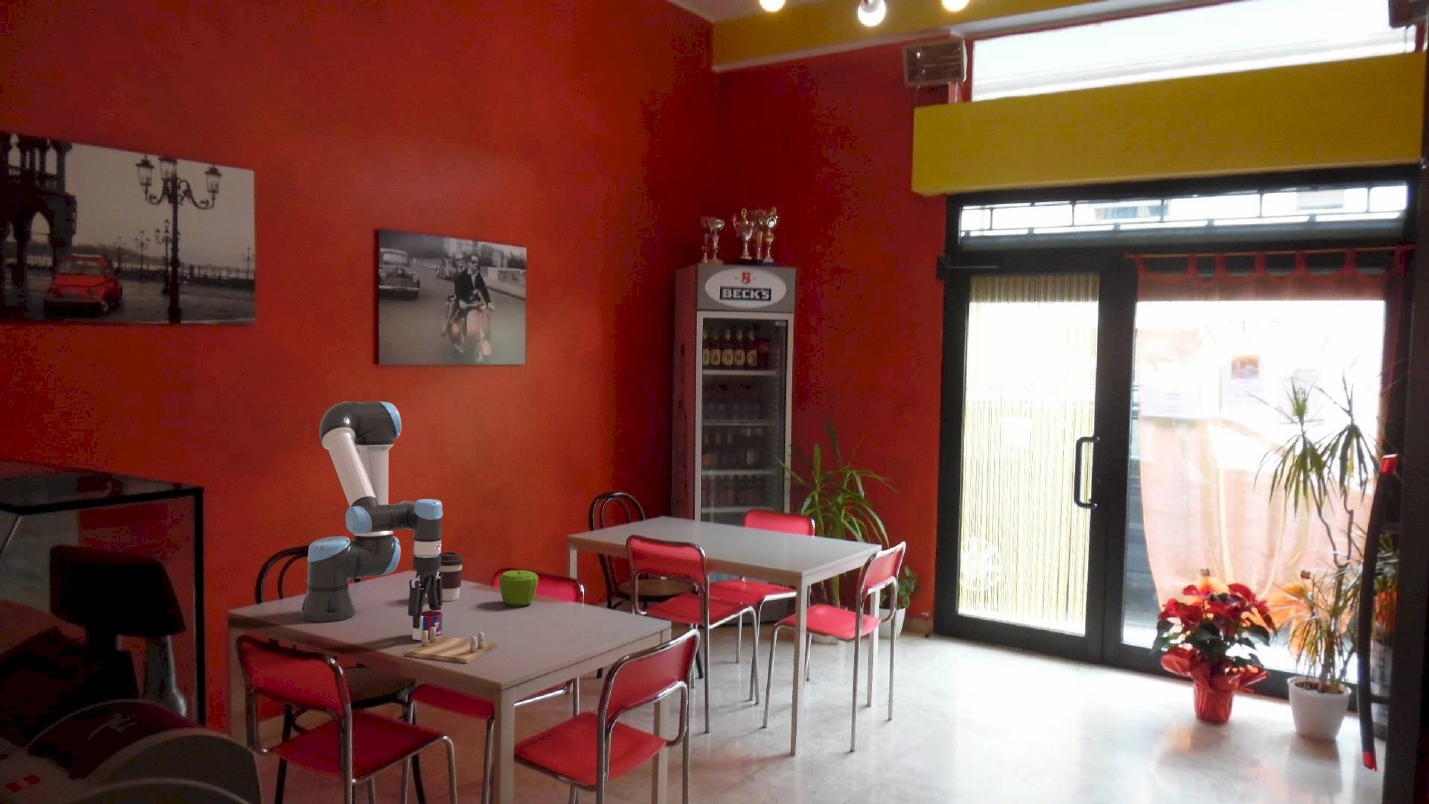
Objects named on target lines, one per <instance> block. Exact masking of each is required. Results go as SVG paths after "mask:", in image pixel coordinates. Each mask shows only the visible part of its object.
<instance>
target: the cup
mask: <svg viewBox="0 0 1429 804" xmlns="http://www.w3.org/2000/svg"><path fill="white" fill-rule="evenodd" d="M421 616H423V631H425V630H426V631H428V641H429V640H430V627H436V637H438V636H443V612H442V611H440V610H437V611H427V610H424V611H423V610H422V615H421Z"/></svg>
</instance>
